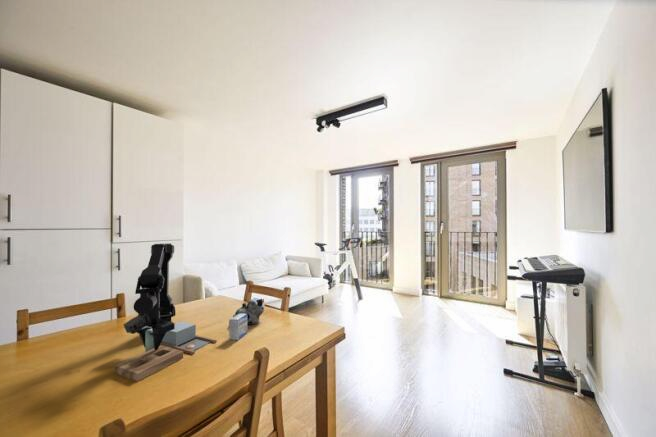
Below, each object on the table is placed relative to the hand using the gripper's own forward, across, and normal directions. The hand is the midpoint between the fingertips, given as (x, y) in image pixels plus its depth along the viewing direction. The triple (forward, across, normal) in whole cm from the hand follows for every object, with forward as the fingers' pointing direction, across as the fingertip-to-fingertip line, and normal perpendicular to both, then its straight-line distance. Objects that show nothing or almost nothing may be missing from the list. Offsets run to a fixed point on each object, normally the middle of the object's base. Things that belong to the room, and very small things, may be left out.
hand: (151, 348), depth 102 cm
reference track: (+2, +4, +12) cm, 13 cm away
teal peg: (+2, -1, 0) cm, 3 cm away
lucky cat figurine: (+3, +11, +42) cm, 44 cm away
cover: (+2, -1, +12) cm, 12 cm away
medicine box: (+3, +18, +26) cm, 32 cm away
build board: (+3, +7, -5) cm, 9 cm away
